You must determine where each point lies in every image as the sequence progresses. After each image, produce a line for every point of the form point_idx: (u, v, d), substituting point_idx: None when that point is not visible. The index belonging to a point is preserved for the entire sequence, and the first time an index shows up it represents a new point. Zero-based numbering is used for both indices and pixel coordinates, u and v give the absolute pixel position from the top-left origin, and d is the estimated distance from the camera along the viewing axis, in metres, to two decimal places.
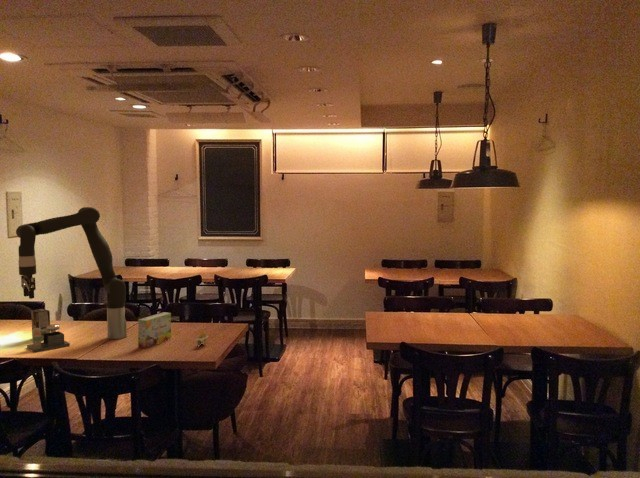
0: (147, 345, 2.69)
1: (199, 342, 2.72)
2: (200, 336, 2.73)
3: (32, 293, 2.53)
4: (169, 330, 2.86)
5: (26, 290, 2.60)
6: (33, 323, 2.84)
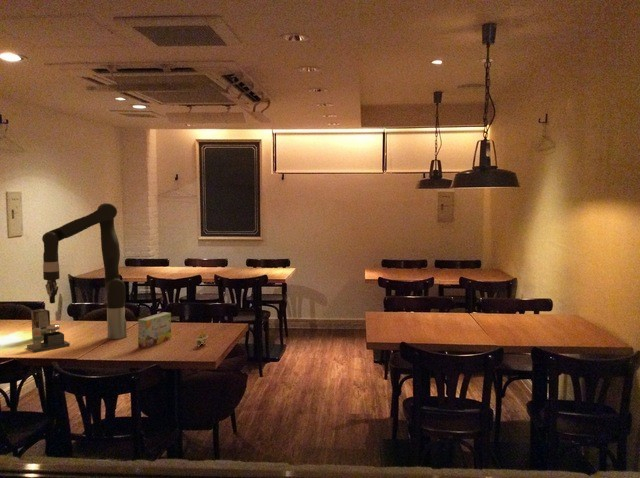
0: (147, 345, 2.69)
1: (199, 342, 2.72)
2: (200, 336, 2.73)
3: (53, 298, 2.69)
4: (169, 330, 2.86)
5: None
6: (33, 323, 2.84)
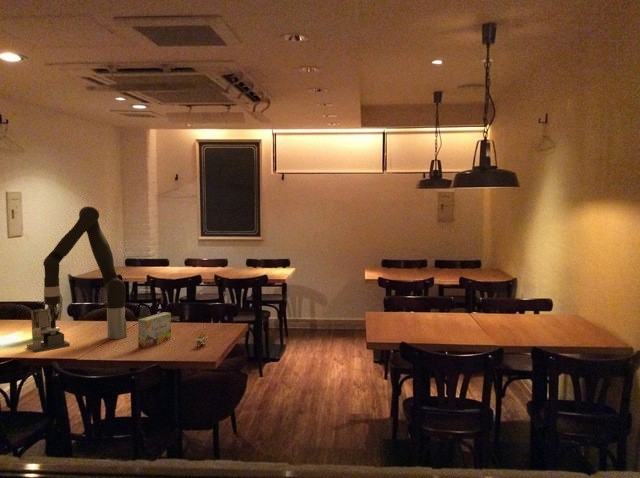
0: (147, 345, 2.69)
1: (198, 342, 2.72)
2: (200, 336, 2.73)
3: (54, 323, 2.70)
4: (169, 330, 2.86)
5: None
6: (33, 323, 2.84)
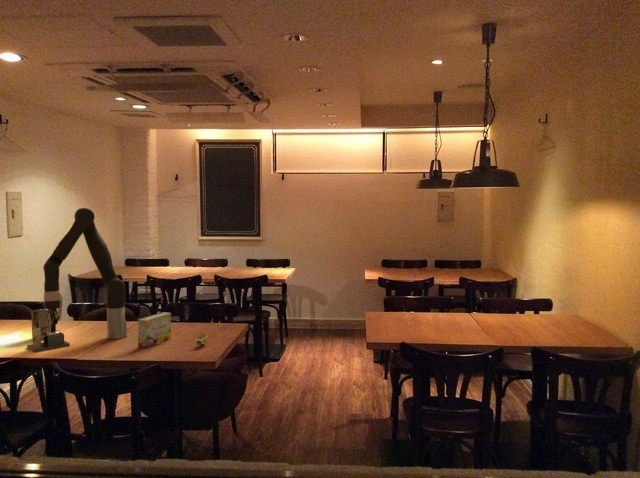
0: (147, 345, 2.69)
1: (198, 342, 2.71)
2: (199, 336, 2.73)
3: (54, 327, 2.70)
4: (169, 330, 2.86)
5: None
6: (33, 323, 2.84)
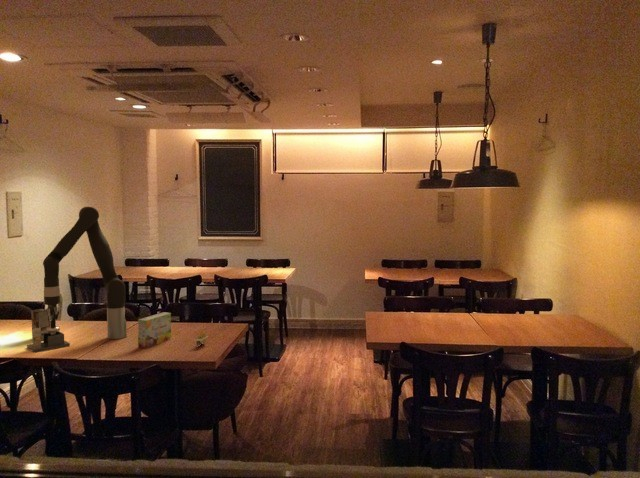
0: (147, 345, 2.69)
1: (198, 342, 2.71)
2: (199, 336, 2.72)
3: (54, 323, 2.70)
4: (169, 330, 2.86)
5: None
6: (33, 323, 2.84)
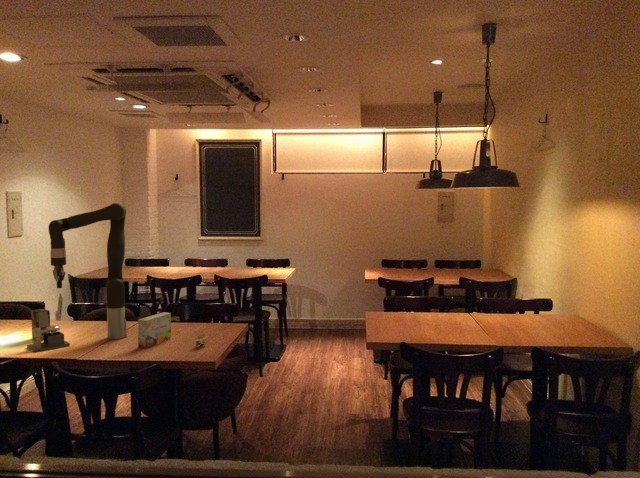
0: (147, 345, 2.69)
1: (198, 343, 2.71)
2: (199, 337, 2.72)
3: (60, 283, 2.81)
4: (169, 330, 2.86)
5: None
6: (33, 323, 2.84)
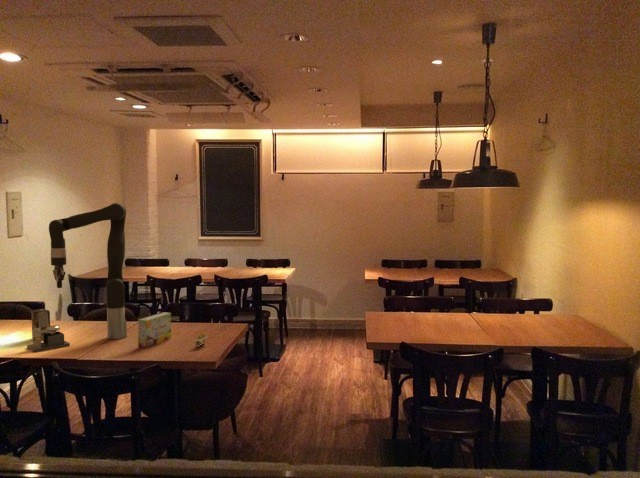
0: (147, 345, 2.69)
1: (198, 343, 2.71)
2: (199, 337, 2.72)
3: (60, 283, 2.81)
4: (169, 330, 2.86)
5: None
6: (33, 323, 2.84)
